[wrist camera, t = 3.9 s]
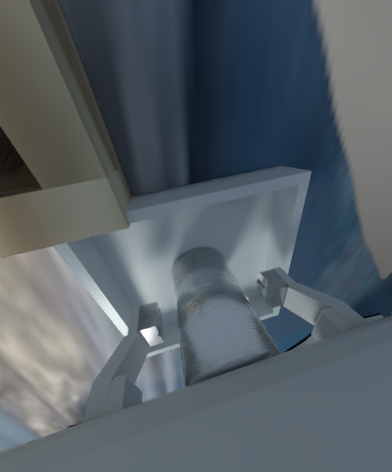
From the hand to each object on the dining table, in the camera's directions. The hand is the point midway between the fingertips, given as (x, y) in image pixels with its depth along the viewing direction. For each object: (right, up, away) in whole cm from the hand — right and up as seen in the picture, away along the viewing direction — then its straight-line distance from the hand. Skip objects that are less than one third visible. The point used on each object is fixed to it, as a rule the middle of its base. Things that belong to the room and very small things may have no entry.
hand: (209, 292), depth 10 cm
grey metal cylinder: (-1, +1, +2) cm, 2 cm away
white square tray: (-1, +1, +3) cm, 3 cm away
